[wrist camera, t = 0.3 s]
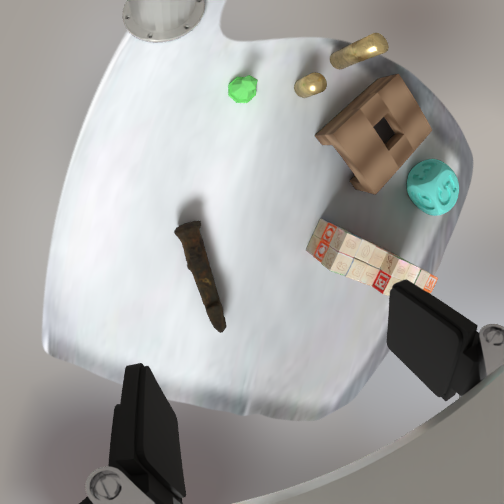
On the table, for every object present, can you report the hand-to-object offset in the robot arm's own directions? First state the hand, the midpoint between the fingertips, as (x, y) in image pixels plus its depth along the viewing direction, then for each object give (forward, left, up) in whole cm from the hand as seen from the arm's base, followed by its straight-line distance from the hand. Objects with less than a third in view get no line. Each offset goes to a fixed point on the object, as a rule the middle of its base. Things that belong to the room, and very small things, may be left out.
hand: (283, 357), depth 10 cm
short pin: (-2, +24, -37) cm, 44 cm away
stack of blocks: (+27, +13, -37) cm, 48 cm away
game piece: (-8, +16, -37) cm, 41 cm away
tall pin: (-2, +33, -37) cm, 49 cm away
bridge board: (+11, +29, -36) cm, 48 cm away
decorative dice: (+27, +33, -37) cm, 56 cm away
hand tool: (+9, -8, -37) cm, 39 cm away
